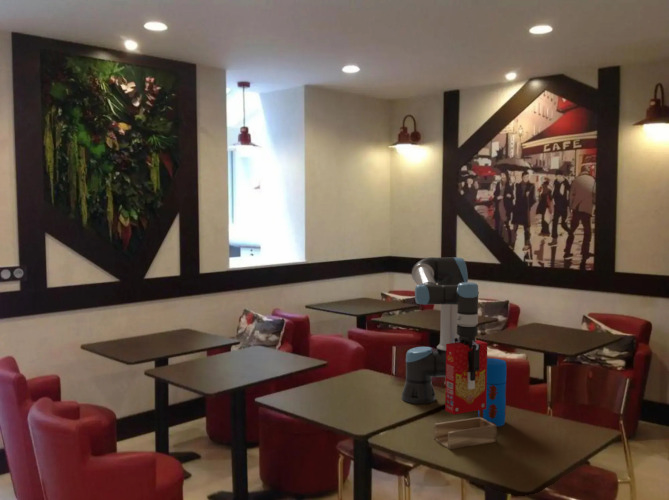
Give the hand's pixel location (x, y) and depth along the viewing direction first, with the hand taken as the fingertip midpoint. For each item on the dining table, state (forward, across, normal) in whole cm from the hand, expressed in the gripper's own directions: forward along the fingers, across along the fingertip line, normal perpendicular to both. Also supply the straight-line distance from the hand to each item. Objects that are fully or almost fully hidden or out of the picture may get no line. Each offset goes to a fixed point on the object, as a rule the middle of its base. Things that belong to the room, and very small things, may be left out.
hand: (466, 386), depth 226 cm
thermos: (+21, -13, +21) cm, 32 cm away
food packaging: (+9, 0, 0) cm, 9 cm away
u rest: (+21, 0, 0) cm, 21 cm away
